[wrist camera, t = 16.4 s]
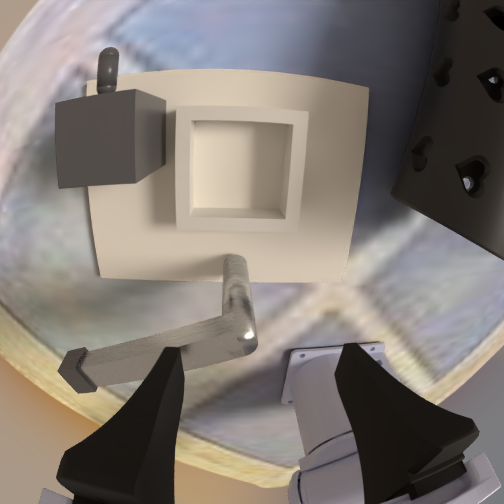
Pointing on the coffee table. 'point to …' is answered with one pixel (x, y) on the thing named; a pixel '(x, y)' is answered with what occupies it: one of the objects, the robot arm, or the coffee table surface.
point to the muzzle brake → (461, 127)
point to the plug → (109, 133)
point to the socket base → (239, 179)
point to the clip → (174, 341)
